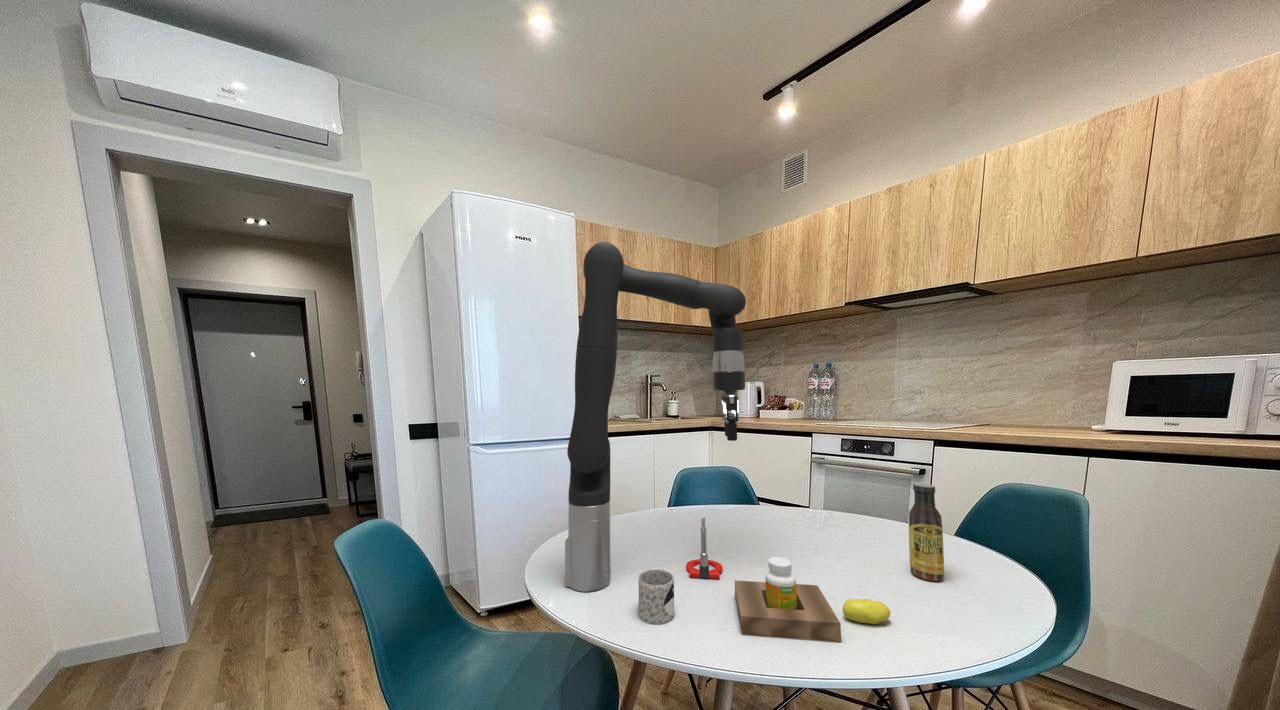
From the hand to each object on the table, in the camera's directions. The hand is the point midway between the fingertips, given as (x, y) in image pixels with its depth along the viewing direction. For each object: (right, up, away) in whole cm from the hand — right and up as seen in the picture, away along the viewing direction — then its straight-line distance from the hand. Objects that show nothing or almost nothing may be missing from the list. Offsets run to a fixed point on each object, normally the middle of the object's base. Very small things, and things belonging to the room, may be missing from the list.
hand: (730, 438), depth 95 cm
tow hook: (-7, -30, -3) cm, 31 cm away
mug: (-18, -29, -19) cm, 39 cm away
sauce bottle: (+42, -29, -7) cm, 52 cm away
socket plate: (+4, -28, -22) cm, 36 cm away
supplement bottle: (+4, -28, -22) cm, 36 cm away
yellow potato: (+19, -28, -24) cm, 41 cm away
